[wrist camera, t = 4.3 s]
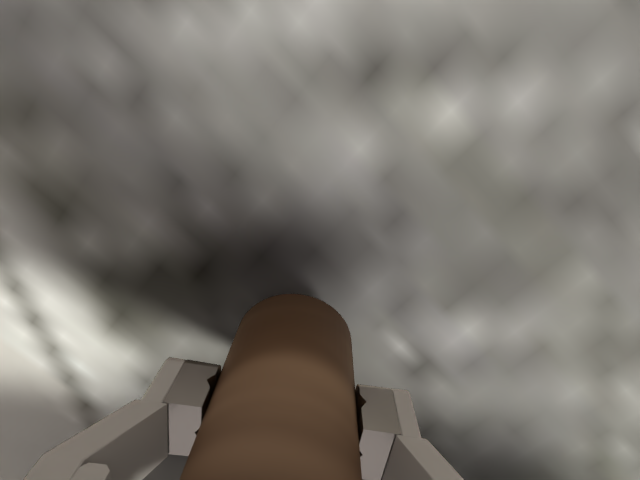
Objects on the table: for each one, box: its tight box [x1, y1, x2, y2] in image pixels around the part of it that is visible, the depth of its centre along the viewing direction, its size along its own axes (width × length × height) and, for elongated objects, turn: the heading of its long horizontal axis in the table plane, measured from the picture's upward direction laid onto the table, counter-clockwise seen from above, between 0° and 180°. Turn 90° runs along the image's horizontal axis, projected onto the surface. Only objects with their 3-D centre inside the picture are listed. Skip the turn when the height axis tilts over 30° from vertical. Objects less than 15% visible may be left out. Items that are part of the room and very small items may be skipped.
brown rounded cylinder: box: [179, 294, 362, 480], centre depth 10 cm, size 4×4×6 cm
